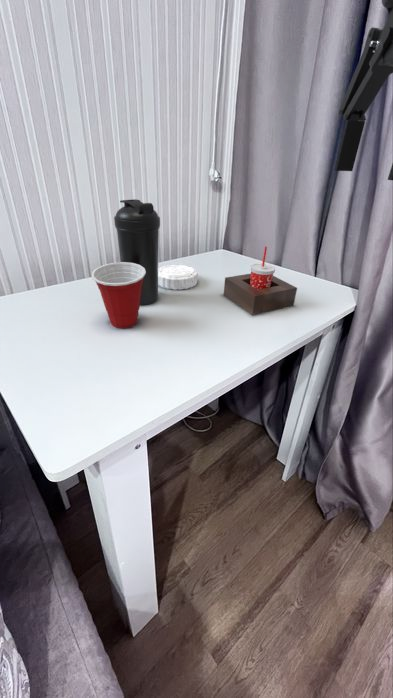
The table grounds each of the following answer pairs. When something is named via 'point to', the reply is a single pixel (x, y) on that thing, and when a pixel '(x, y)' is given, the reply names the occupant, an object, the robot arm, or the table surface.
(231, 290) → the holder
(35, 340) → the table surface
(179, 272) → the mooncake
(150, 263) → the water bottle
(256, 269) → the beverage cup
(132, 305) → the plastic cup
